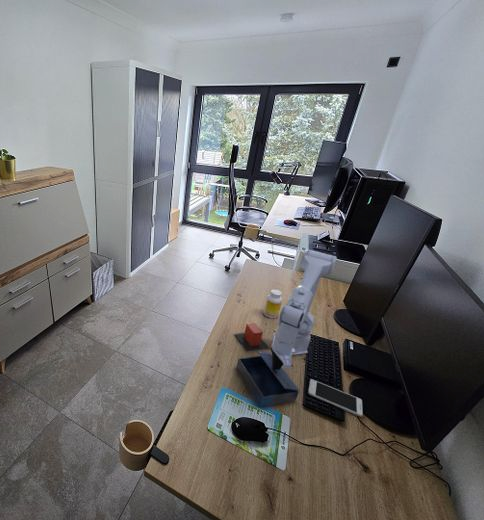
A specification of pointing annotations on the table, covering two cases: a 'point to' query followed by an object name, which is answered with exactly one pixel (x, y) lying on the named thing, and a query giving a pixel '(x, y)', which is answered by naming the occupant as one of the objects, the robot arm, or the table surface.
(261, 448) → the table surface
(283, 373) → the flap
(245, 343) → the mat
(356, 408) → the smartphone
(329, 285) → the table surface
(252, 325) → the block
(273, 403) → the carton
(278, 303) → the supplement bottle
